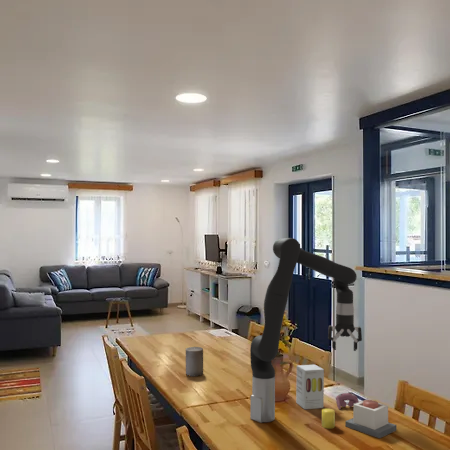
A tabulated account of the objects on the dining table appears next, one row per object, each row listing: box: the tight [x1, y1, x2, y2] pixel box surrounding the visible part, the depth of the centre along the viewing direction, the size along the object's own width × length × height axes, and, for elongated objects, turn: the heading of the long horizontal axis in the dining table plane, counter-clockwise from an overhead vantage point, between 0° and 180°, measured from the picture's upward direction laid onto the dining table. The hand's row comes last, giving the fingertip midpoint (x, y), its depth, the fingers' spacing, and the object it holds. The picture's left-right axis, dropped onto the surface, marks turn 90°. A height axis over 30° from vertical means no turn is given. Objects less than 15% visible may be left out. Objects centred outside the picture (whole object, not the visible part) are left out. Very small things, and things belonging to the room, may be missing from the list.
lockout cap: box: [321, 408, 336, 430], centre depth 189 cm, size 5×5×6 cm
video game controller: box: [335, 392, 360, 410], centre depth 211 cm, size 10×5×7 cm, turn 92°
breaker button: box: [362, 399, 379, 409], centre depth 187 cm, size 6×6×4 cm
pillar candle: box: [185, 346, 204, 377], centre depth 261 cm, size 10×10×15 cm
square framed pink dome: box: [344, 399, 398, 439], centre depth 187 cm, size 12×15×9 cm
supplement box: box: [295, 364, 325, 410], centre depth 213 cm, size 10×9×17 cm
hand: (344, 350), depth 211 cm, fingers open, 8 cm apart
